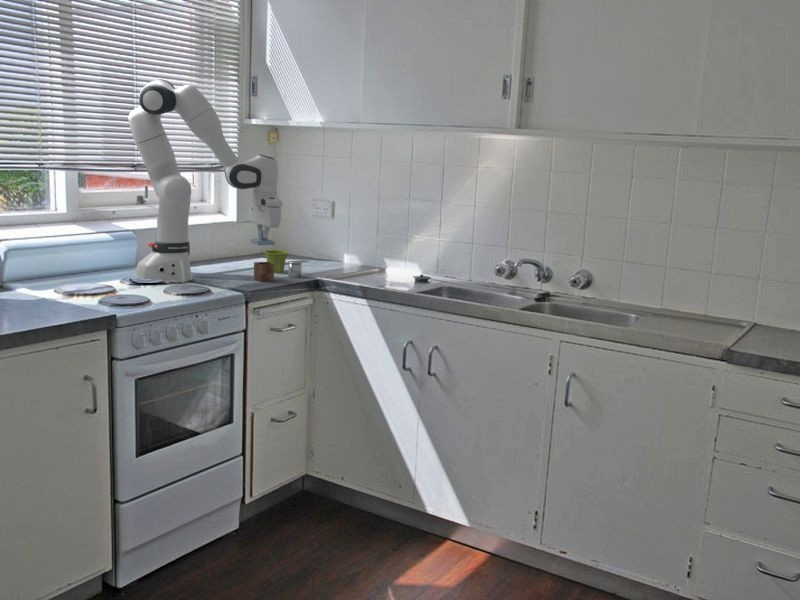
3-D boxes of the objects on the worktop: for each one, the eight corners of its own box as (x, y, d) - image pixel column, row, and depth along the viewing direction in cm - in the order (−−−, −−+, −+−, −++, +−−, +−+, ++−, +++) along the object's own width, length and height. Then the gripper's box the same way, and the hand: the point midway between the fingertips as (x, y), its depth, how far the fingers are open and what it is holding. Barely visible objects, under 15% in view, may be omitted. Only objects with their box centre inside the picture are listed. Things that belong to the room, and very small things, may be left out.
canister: (260, 283, 314) (260, 264, 313) (253, 280, 319) (254, 262, 317) (273, 282, 317) (274, 263, 316) (267, 279, 322) (267, 261, 321)
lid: (258, 245, 311) (258, 231, 310) (250, 242, 316) (251, 229, 315) (274, 245, 314) (275, 231, 314) (266, 242, 320) (267, 229, 319)
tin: (291, 279, 325) (292, 263, 324) (285, 277, 329) (286, 261, 328) (303, 278, 328) (304, 262, 327) (297, 276, 332) (298, 260, 331)
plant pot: (290, 272, 342) (290, 250, 340) (284, 275, 333) (285, 254, 331) (267, 270, 343) (267, 249, 341) (261, 274, 333) (261, 252, 332)
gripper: (245, 196, 319) (243, 233, 321) (268, 202, 302) (266, 240, 305) (260, 197, 322) (258, 233, 325) (284, 202, 306) (282, 240, 308)
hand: (262, 236), depth 315 cm, fingers closed on lid, 2 cm apart
